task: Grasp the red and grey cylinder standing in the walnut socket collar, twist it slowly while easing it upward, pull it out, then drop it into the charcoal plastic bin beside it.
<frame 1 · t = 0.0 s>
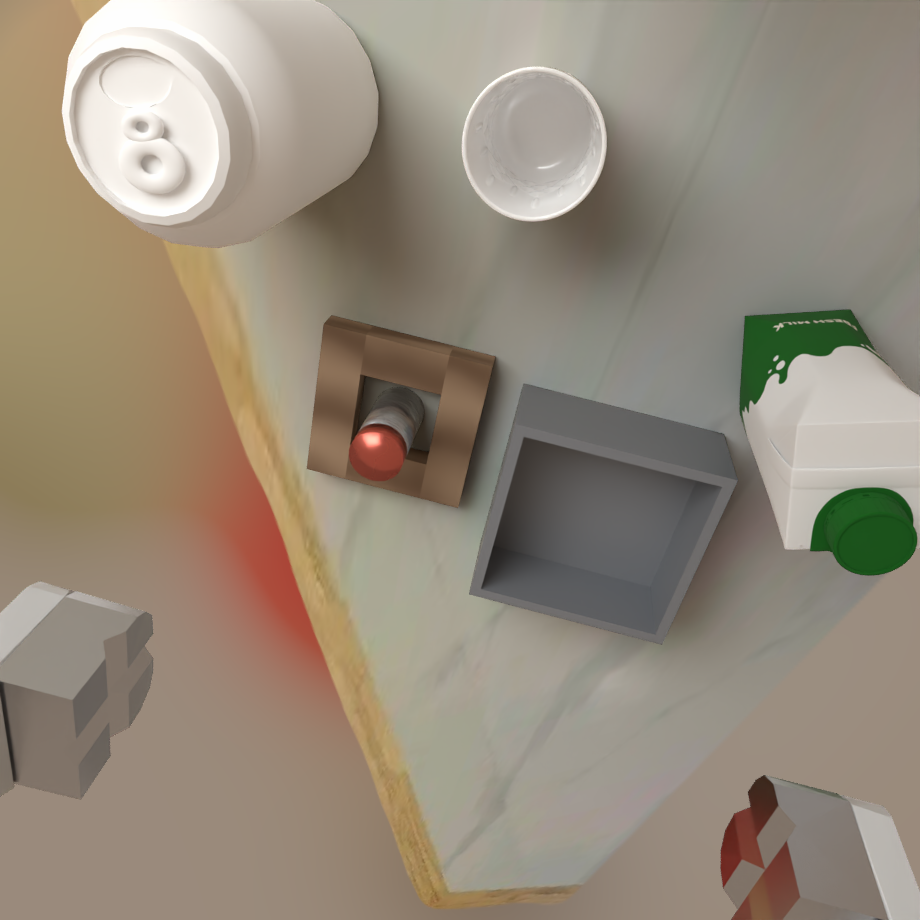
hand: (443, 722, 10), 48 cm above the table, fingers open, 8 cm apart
bin: (593, 492, 64), on the table
milk carton: (792, 357, 56), on the table
socket block: (399, 409, 63), on the table
can: (293, 98, 52), on the table
red and grey cylinder: (388, 432, 59), in the socket block
white cup: (544, 126, 51), on the table
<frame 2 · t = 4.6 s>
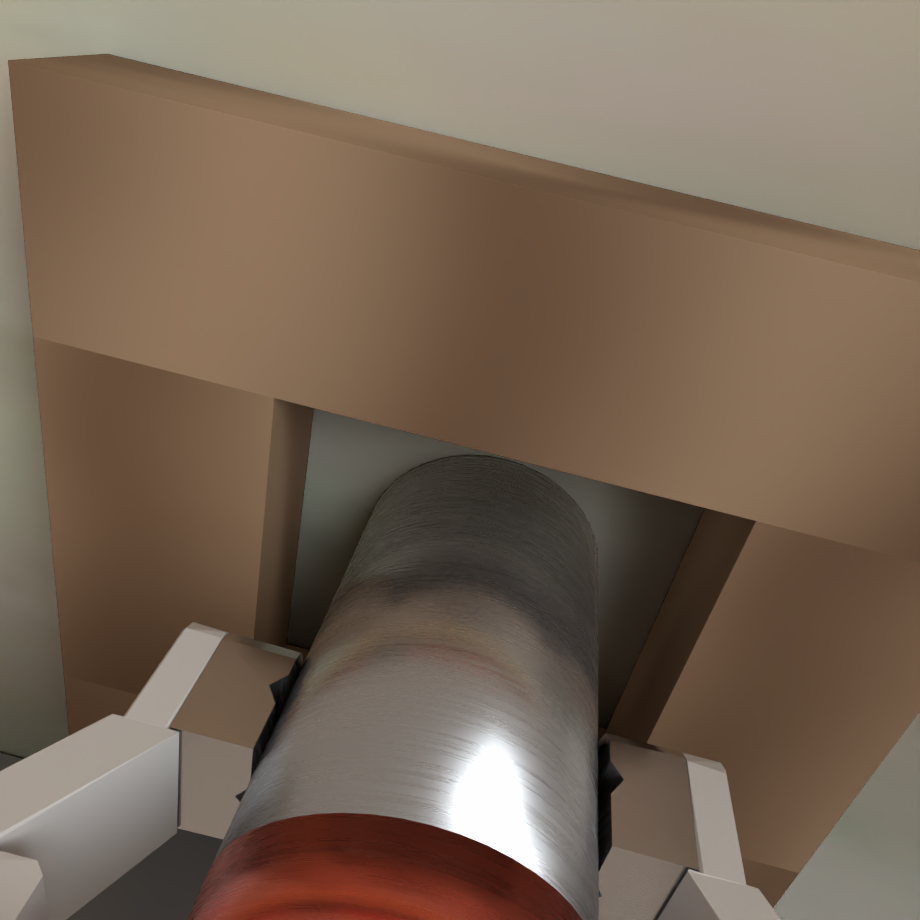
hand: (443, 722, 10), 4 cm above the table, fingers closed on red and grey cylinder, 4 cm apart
socket block: (480, 558, 13), on the table
red and grey cylinder: (439, 743, 10), in the socket block, touching gripper
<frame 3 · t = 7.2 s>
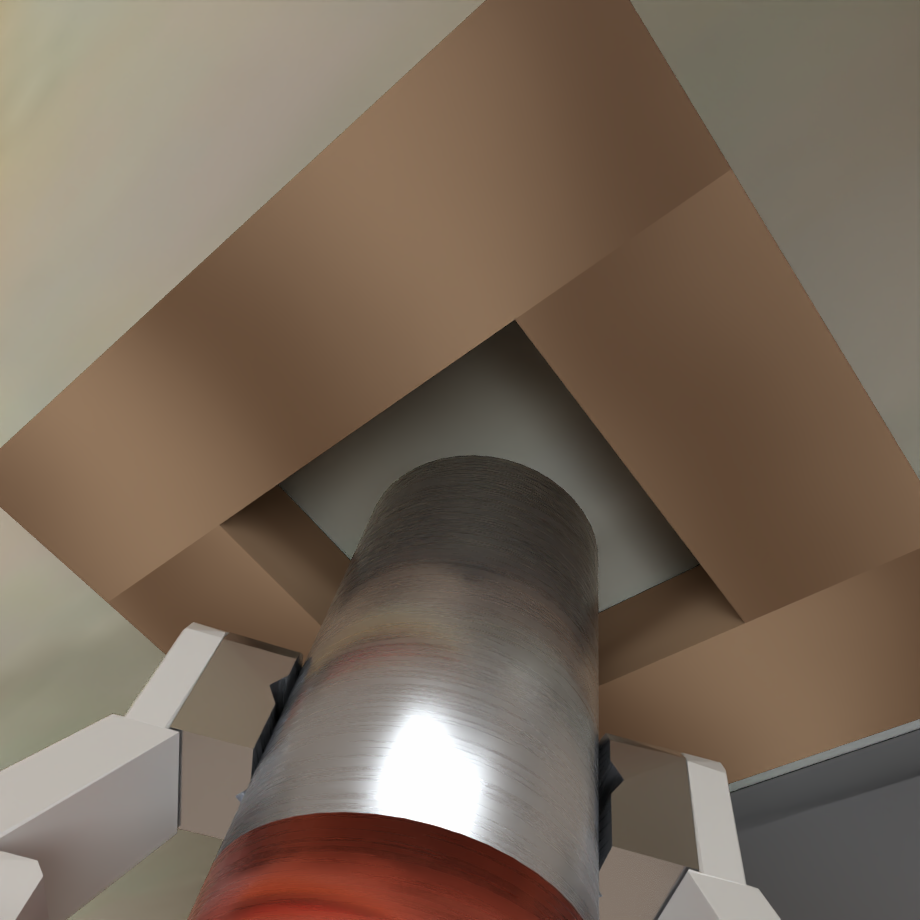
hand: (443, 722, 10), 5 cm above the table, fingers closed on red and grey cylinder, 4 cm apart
socket block: (489, 509, 15), on the table
red and grey cylinder: (439, 743, 10), point 6 cm above the table, touching gripper
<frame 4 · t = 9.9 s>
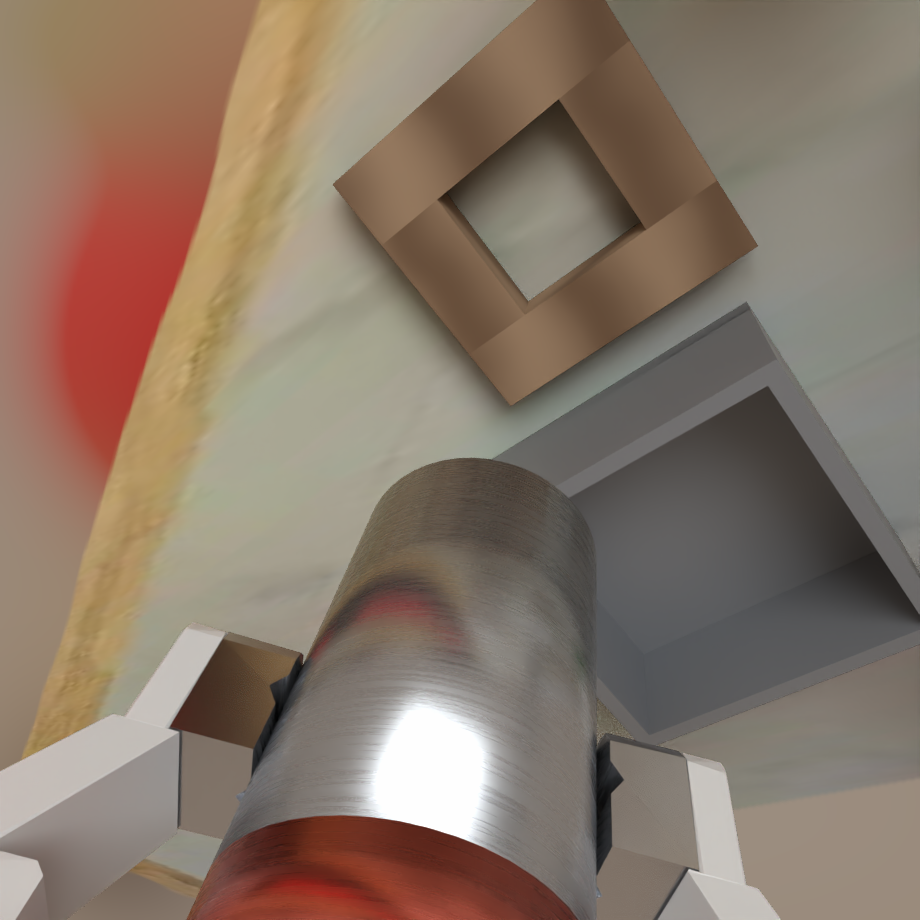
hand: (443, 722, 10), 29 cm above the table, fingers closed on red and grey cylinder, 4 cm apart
bin: (684, 503, 41), on the table
socket block: (543, 205, 35), on the table
red and grey cylinder: (438, 745, 10), point 29 cm above the table, touching gripper
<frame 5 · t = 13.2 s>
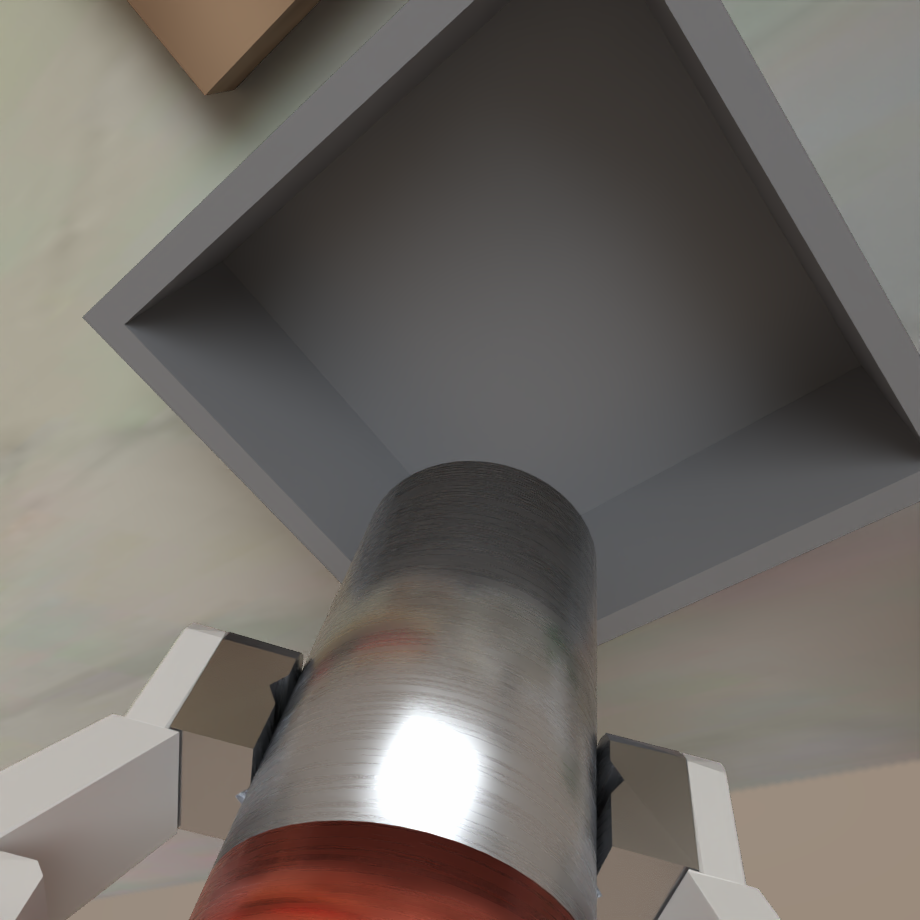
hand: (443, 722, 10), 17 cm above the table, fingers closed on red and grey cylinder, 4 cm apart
bin: (534, 301, 25), on the table
red and grey cylinder: (438, 749, 10), point 18 cm above the table, touching gripper
when the fingers open (8 cm above the table, at t = 15.7 s): red and grey cylinder drops 3 cm, resting on bin.
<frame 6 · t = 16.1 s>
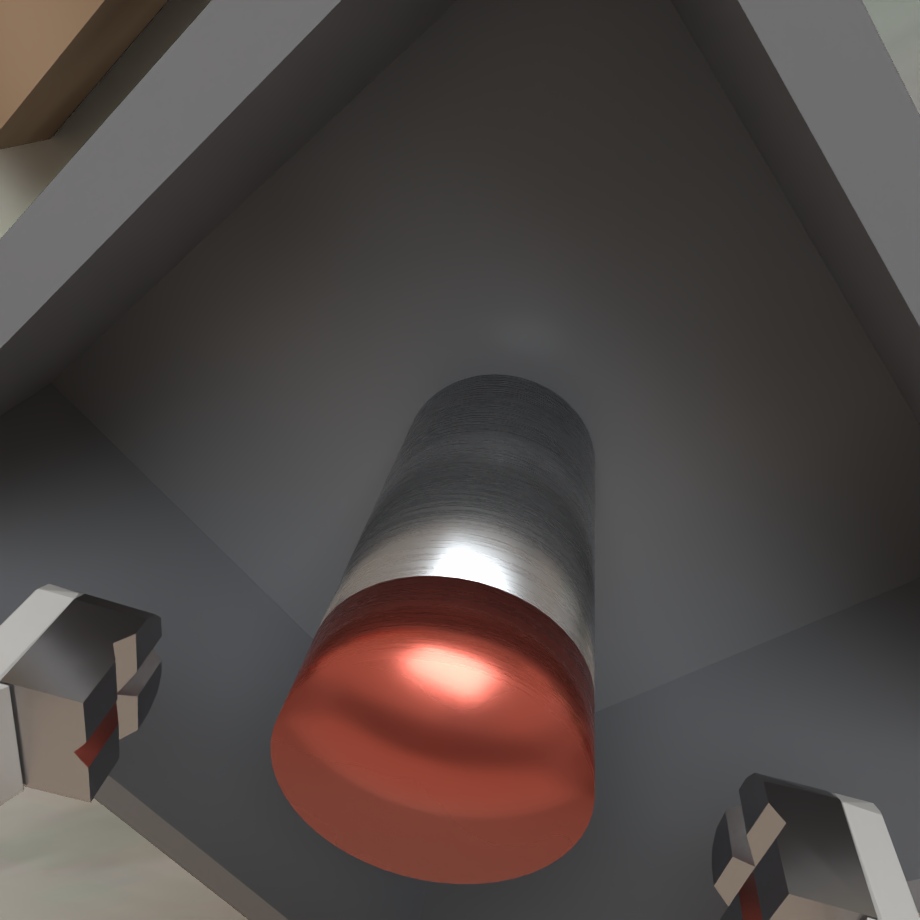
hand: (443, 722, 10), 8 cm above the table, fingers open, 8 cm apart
bin: (504, 439, 17), on the table
red and grey cylinder: (473, 579, 13), in the bin, point 5 cm above the table
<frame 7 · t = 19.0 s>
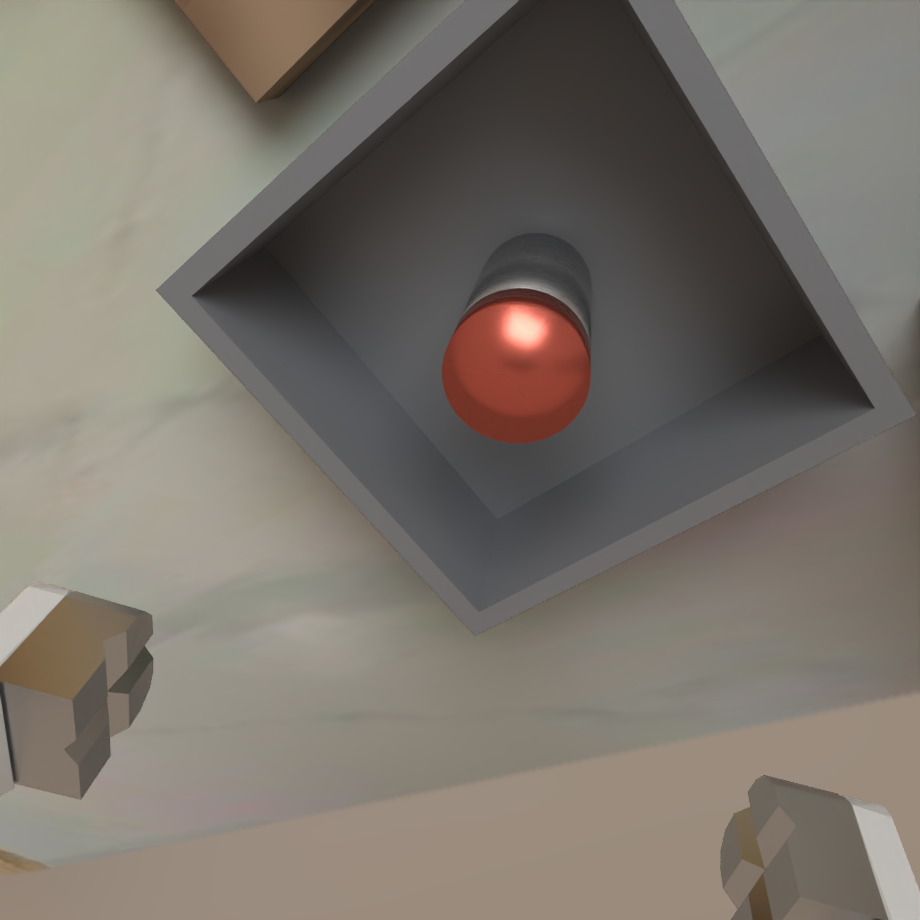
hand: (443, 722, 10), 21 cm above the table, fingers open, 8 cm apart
bin: (537, 281, 28), on the table
red and grey cylinder: (526, 327, 24), in the bin, point 5 cm above the table
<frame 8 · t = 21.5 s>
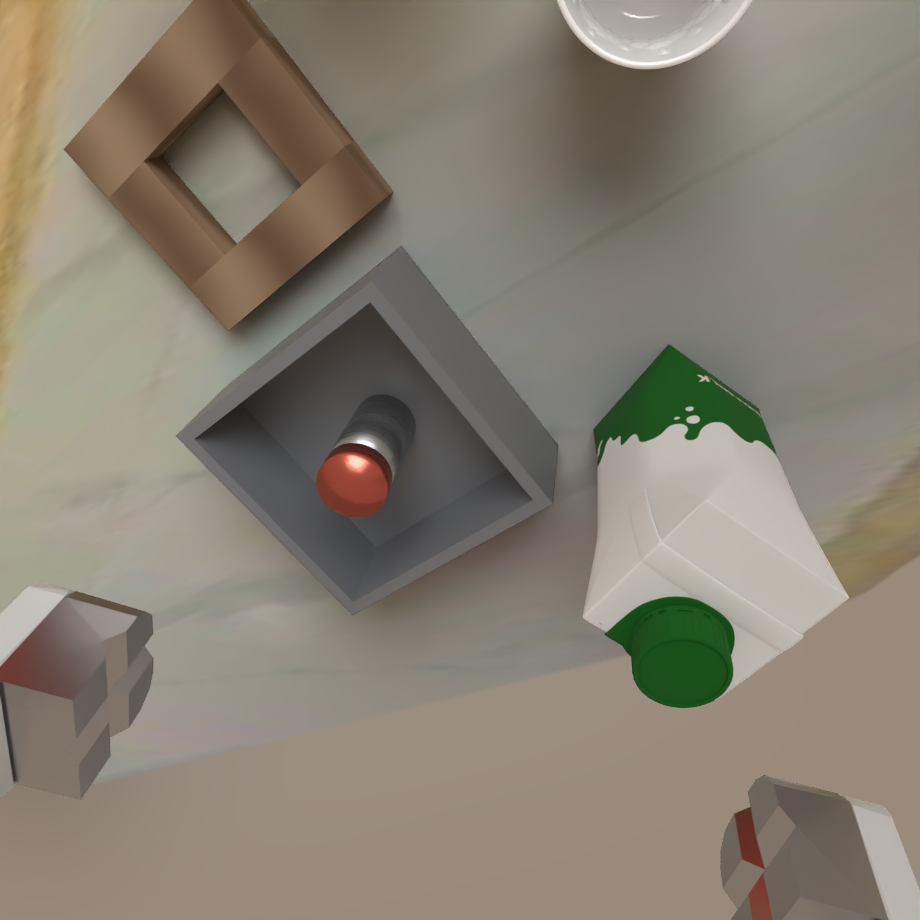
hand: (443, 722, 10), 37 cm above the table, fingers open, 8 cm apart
bin: (388, 415, 51), on the table
milk carton: (674, 416, 48), on the table
socket block: (236, 167, 44), on the table
red and grey cylinder: (369, 452, 46), in the bin, point 5 cm above the table
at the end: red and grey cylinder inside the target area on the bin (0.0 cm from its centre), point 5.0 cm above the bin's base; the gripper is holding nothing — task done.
